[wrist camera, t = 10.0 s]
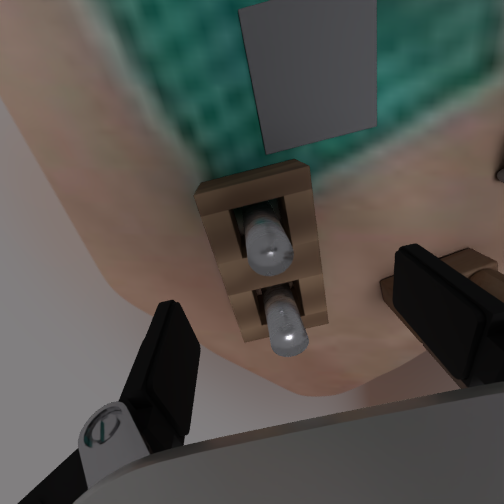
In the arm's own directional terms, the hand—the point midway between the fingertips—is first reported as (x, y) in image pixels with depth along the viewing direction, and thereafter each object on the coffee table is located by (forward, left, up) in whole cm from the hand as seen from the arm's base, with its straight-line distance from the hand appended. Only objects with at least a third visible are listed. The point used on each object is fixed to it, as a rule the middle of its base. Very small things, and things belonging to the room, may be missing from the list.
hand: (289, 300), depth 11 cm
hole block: (+5, 0, -16) cm, 16 cm away
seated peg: (+9, 0, -16) cm, 18 cm away
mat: (-9, +7, -16) cm, 19 cm away
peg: (+1, 0, -16) cm, 16 cm away
